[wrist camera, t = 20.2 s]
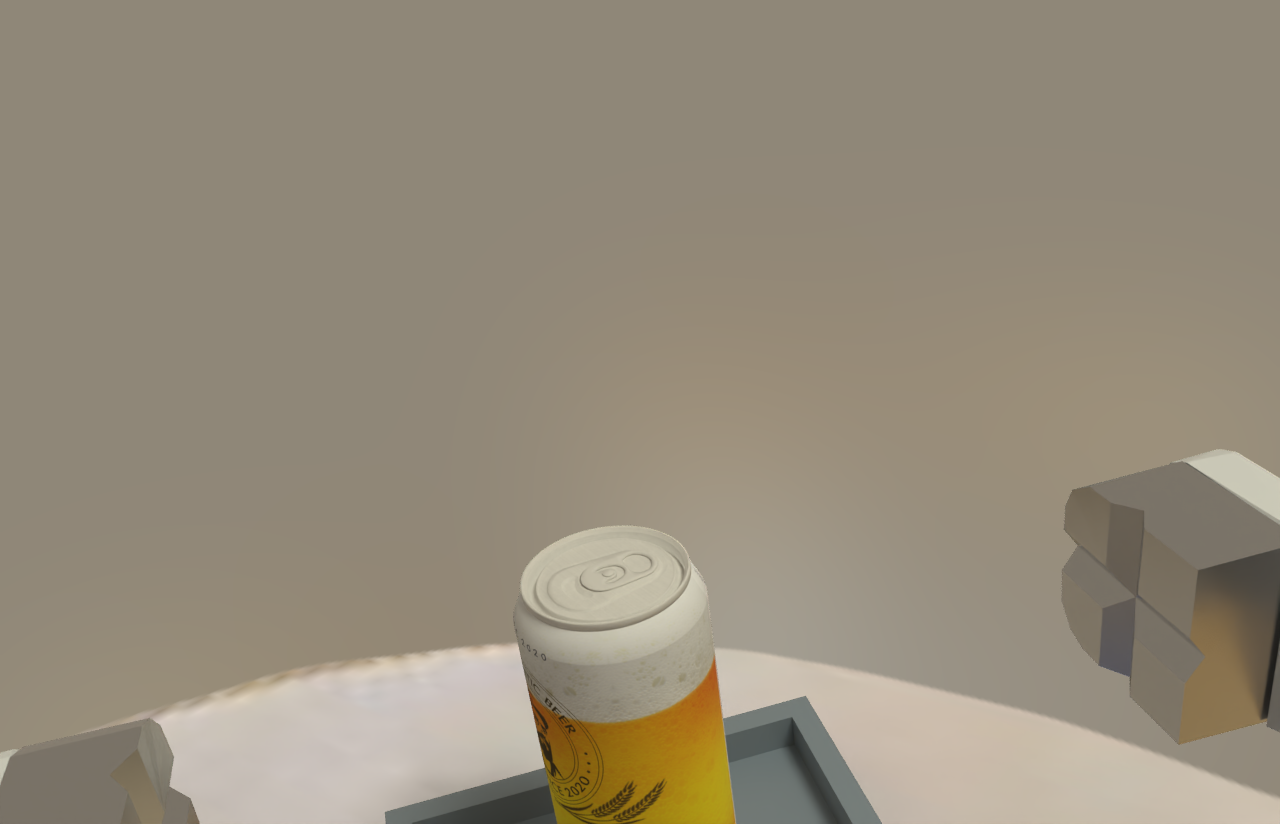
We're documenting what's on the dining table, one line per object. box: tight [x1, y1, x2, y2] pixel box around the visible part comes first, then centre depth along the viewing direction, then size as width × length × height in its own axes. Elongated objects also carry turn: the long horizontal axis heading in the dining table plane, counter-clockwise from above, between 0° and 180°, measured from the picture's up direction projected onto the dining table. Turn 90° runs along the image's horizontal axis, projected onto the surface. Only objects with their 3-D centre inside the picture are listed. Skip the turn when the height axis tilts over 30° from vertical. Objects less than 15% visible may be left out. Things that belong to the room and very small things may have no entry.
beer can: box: [513, 526, 736, 824], centre depth 38 cm, size 6×6×15 cm
